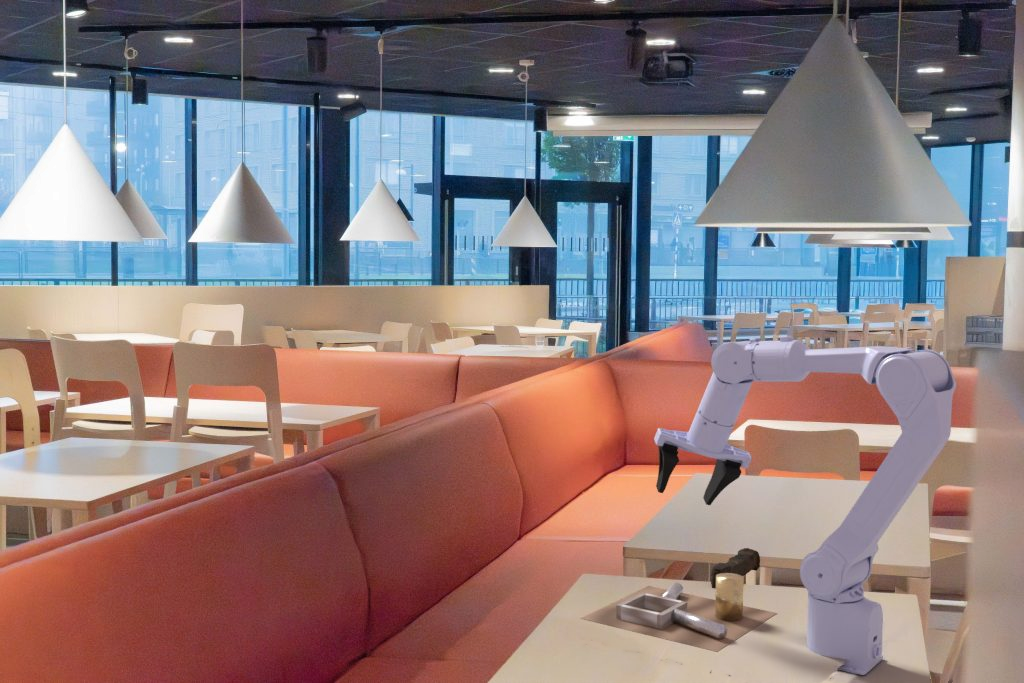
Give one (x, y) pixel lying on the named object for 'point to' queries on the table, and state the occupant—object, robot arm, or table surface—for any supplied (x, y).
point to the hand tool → (737, 564)
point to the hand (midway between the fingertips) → (683, 495)
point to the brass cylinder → (729, 597)
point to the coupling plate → (654, 619)
